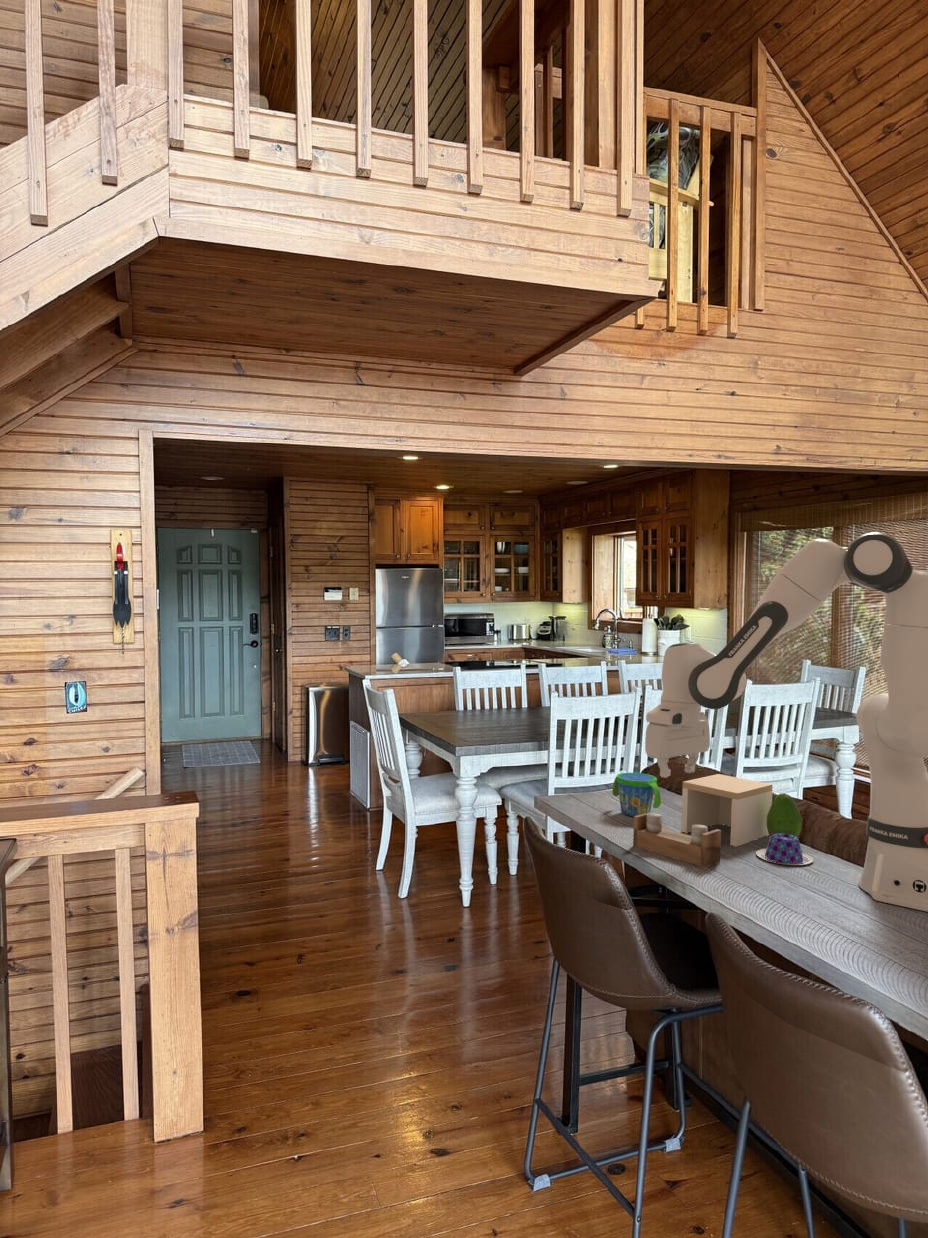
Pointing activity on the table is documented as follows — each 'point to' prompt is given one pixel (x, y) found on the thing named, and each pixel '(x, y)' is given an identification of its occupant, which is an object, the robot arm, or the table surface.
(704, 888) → the table surface
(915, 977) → the table surface
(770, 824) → the avocado
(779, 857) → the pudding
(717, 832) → the tray
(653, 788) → the snack cup
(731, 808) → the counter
